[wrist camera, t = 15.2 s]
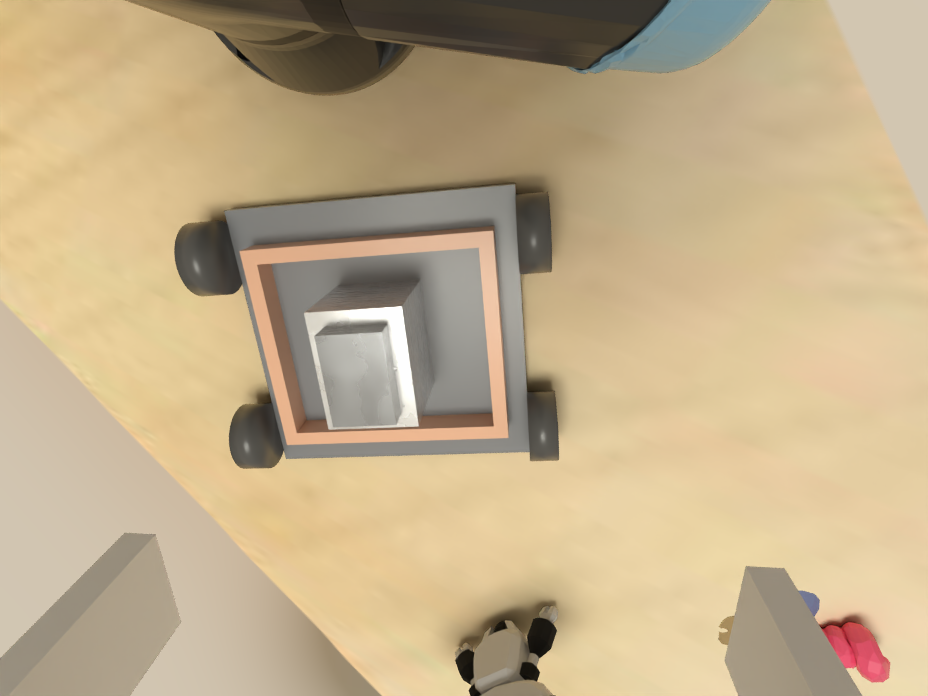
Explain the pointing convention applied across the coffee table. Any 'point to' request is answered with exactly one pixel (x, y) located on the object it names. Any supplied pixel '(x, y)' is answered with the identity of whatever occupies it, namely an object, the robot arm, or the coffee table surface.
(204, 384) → the coffee table surface
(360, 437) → the chassis
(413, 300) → the block
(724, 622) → the toy pieces
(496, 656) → the robot toy
